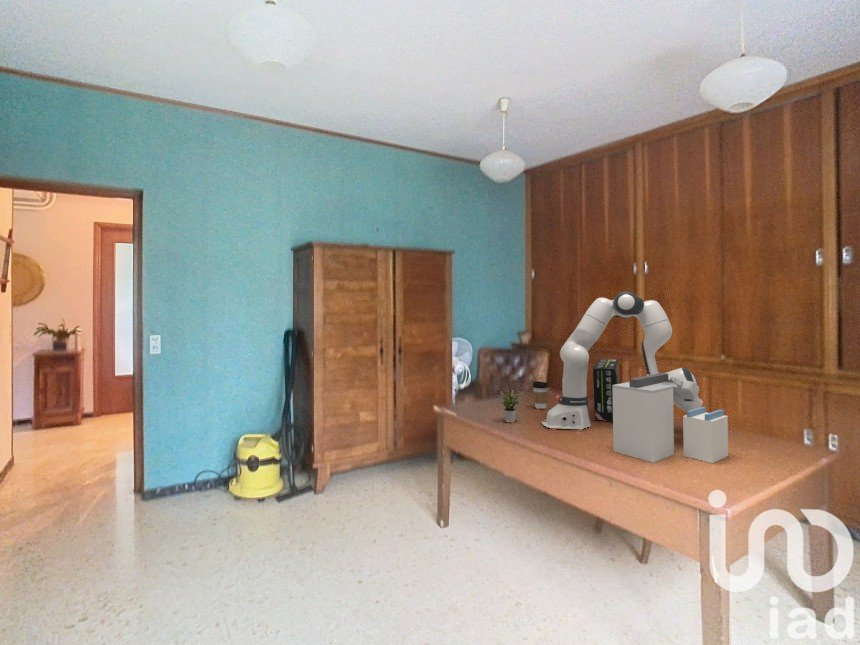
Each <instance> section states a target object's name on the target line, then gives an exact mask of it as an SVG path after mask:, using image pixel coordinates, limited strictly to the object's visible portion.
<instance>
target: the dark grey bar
mask: <svg viewBox="0 0 860 645" xmlns="http://www.w3.org/2000/svg"><path fill="white" fill-rule="evenodd" d="M628 380H629V381H628V382H629V383H630V387H633V388H640V387H644V386H649V385H653V384H658V383H663V382H667V381H669V379H668V374H667V373H666V372H658V374H653V375H648V376H647V375H644V376H639V377H633V378H630V379H628Z"/></svg>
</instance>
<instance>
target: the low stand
mask: <svg viewBox="0 0 860 645" xmlns="http://www.w3.org/2000/svg"><path fill="white" fill-rule="evenodd" d="M728 417H729V416H728V415H725V410H724V409H717V410H713V411H711V412H707V407H706V406H700V408H696V409H693V410H690V411H687V412H686V414H685V415H683V416H682V424H683V425H682V426H683V428H682V431H683V432H682V434H683V437H682V438H683V439H682V440H683V457H685V458H690V459H693V458H694V460H697V459H698V460H697V461H701V460H702V462H706V463H710V464H714V463H716V462H719V461H721V460H723V459H726V458H727V456H728V457H729V420H728V419H729V418H728Z"/></svg>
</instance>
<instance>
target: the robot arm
mask: <svg viewBox="0 0 860 645" xmlns="http://www.w3.org/2000/svg"><path fill="white" fill-rule="evenodd" d="M613 317H615V318H616V317H617V318H619V319H620V318H621V319H631V318H633V317H635V318H636V319H637V320H638V321H639V323H640V325H641V327H642V330H643V332H644V338H643V341H642V342H641V351H642V352H641V353H642V358H643V362H644V368H645V370H646V376H648V375H653V374H658V373H659V369H658V365H657V361H656V357H655V356H656V353H657V351H658V350H659V349H660V348H661V347H662V346H664V345H665V344H666V343H667V342H668V341H669V340H670V338H671V337H672V335H673V327H672V324H671V322H670V319H669V317H668V315H667V313H666V312H665V310H664V308H663V307H662V306H661V304H660V303H659V302H658V301H657V300H653V299H651V300H645V301H644V299H642V298H641V297H639V296H638V295H636V293H634V292H631V291H622V292H619V293H618V294H617V295H616V296H615V297H614V299H608V297H607V298H606V297H598V298H596V299H595V300H594V301H593V302H592V303H591V304H590V306H589V307H588V308H587V310H586V311H585V313H584V315H583V316H582V318H581V320H580V321H579V323H578V324H577V326H576V328H575V329H574V331H573V332H572V333H571V334H570V336H569V337H568V338H567V339H566V341H565V342H564V344H563V345H562V347H561V348H560V351H559V357H560V359H561V360H562V362H563V371H562V372H563V373H562V379H561V380H562V386H561V388H562V395H558V394H557V395H556V396H555V398H556V400H557V401H558V403H557V404H556V405H555V406H553V407H552V408H550V409H549V410H548V411H547V414H546V419H543V420H544V421H545V420H546V422H543V420H542V421H541V425H542V424H543V425H544V426H546V427H549V428H562V429H584V428H586V429H588V428H587V427H589V428H591V427H592V424H591V420H590V416H589V410H588V408H589V397H588V386H587V385H588V384H587V382H588V372H589V363H590V362H589V360H590V355H589V350H591V348H592V347H593V345H594V344H595V343H596V342H597V341H598V340H599V338H600V337H601V336H602V334H603V332H604V330H605V329H606V328H607V325H608V324H609V322H610V320H611V319H612V318H613ZM665 373H667V374H668V379H669V381H667V382H663V383H658V384H661V385H669V386H673V405H675V406H676V407H677V408H679V409H681V410H682V411H684V412H686V413H687V411H690V410H693V409H696V408H700V407H702V406H701V405H702V402H701V399H700V398H699V391H700V386H699V385H698V384H699V383H698V380H697V377H696V376H695V373H693V372H692V371H691V370H690V369H688V368H686V367H680V368H676V369H673V370H670V371H667V372H665ZM543 425H542V426H543ZM590 426H591V427H590ZM584 430H585V429H584Z"/></svg>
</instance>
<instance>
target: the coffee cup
mask: <svg viewBox="0 0 860 645" xmlns="http://www.w3.org/2000/svg"><path fill="white" fill-rule="evenodd" d="M548 383H549V382H546V381H536V380H535V381H533V382H532V388H533V401H534V408H535V407H536V408H546V409H547V404H548V403H547V402H548V388H549V384H548Z"/></svg>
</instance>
